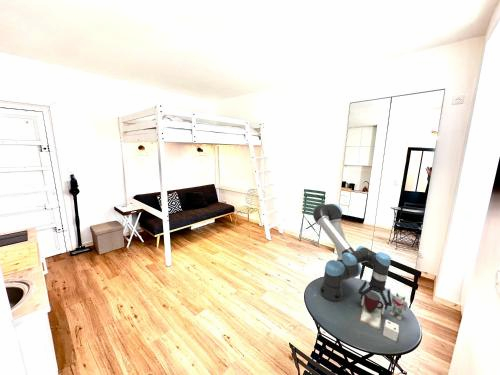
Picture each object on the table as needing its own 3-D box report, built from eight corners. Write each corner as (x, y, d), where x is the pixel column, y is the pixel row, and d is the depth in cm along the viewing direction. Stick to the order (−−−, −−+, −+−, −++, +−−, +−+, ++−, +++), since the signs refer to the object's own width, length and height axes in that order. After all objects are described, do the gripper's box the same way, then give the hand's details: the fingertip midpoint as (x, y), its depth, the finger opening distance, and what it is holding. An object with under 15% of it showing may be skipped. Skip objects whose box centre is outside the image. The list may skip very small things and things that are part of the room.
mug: (379, 307, 129) (382, 293, 127) (383, 317, 121) (386, 303, 119) (361, 302, 132) (363, 289, 130) (363, 312, 124) (366, 298, 122)
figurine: (385, 309, 129) (390, 289, 126) (397, 310, 129) (403, 290, 126) (394, 320, 122) (399, 299, 118) (407, 320, 122) (412, 300, 118)
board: (360, 320, 120) (360, 319, 120) (363, 304, 133) (363, 302, 133) (379, 330, 115) (380, 328, 114) (380, 311, 128) (381, 310, 127)
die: (383, 335, 112) (385, 326, 110) (383, 327, 116) (386, 319, 115) (396, 341, 108) (398, 332, 107) (396, 333, 113) (398, 325, 111)
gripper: (356, 273, 125) (351, 303, 130) (402, 289, 112) (394, 322, 117) (358, 267, 131) (352, 296, 136) (401, 282, 118) (393, 313, 123)
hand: (371, 308), depth 126 cm, fingers closed on mug, 10 cm apart
